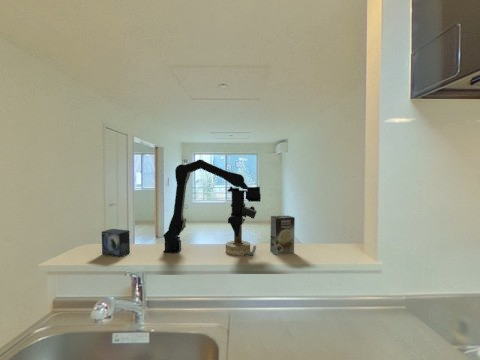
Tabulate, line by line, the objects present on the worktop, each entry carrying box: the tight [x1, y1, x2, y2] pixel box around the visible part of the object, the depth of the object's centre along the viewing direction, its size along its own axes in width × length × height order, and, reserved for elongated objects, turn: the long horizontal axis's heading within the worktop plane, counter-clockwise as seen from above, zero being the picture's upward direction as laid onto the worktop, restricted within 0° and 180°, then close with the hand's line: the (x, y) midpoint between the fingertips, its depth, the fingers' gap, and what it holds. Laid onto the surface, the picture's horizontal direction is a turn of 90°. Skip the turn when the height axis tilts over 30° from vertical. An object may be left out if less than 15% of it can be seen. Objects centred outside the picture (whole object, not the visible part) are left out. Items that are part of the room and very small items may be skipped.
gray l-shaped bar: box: [243, 245, 256, 257], centre depth 129 cm, size 4×14×1 cm, turn 173°
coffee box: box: [269, 215, 296, 256], centre depth 127 cm, size 9×6×16 cm
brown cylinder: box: [233, 224, 243, 243], centre depth 129 cm, size 3×3×10 cm
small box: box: [101, 228, 131, 258], centre depth 124 cm, size 11×6×10 cm, turn 68°
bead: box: [225, 240, 251, 256], centre depth 129 cm, size 11×11×4 cm
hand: (237, 235), depth 129 cm, fingers closed on brown cylinder, 3 cm apart
